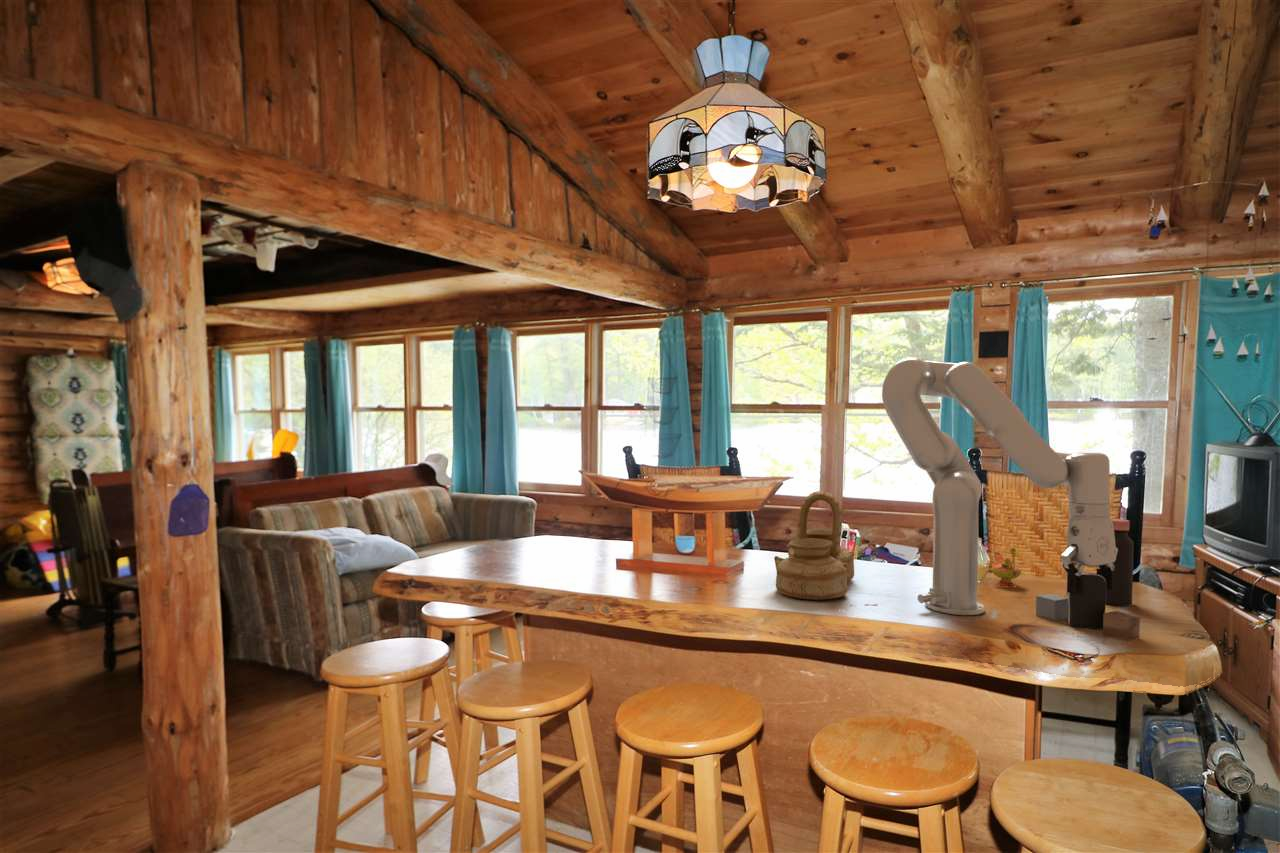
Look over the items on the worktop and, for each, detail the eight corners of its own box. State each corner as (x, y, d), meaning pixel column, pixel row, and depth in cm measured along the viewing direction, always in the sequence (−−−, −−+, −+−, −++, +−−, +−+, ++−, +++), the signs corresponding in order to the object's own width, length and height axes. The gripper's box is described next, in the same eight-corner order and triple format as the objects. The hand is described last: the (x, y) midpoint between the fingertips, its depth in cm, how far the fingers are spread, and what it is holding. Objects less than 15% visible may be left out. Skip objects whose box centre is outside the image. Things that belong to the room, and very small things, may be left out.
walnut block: (1125, 641, 144) (1126, 619, 144) (1102, 634, 148) (1103, 613, 148) (1139, 638, 146) (1139, 616, 146) (1116, 632, 150) (1117, 610, 150)
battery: (1100, 625, 155) (1102, 572, 154) (1106, 630, 151) (1107, 576, 151) (1064, 621, 157) (1065, 569, 157) (1068, 626, 153) (1070, 573, 153)
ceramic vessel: (789, 569, 206) (790, 483, 205) (856, 575, 200) (857, 486, 199) (767, 599, 174) (768, 496, 173) (846, 607, 168) (848, 500, 167)
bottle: (1115, 598, 177) (1117, 517, 176) (1139, 606, 170) (1141, 521, 169) (1091, 599, 175) (1093, 518, 175) (1114, 607, 169) (1116, 522, 168)
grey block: (1054, 621, 158) (1055, 600, 158) (1035, 615, 162) (1036, 595, 162) (1068, 618, 160) (1068, 598, 160) (1049, 613, 164) (1049, 593, 164)
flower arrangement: (1008, 576, 199) (1009, 537, 199) (1028, 592, 181) (1029, 549, 181) (981, 575, 201) (982, 535, 200) (999, 591, 183) (1000, 548, 183)
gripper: (1080, 515, 146) (1081, 599, 146) (1132, 509, 153) (1133, 589, 154) (1045, 511, 153) (1046, 592, 153) (1097, 506, 160) (1098, 582, 160)
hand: (1090, 590), depth 153 cm, fingers open, 9 cm apart
